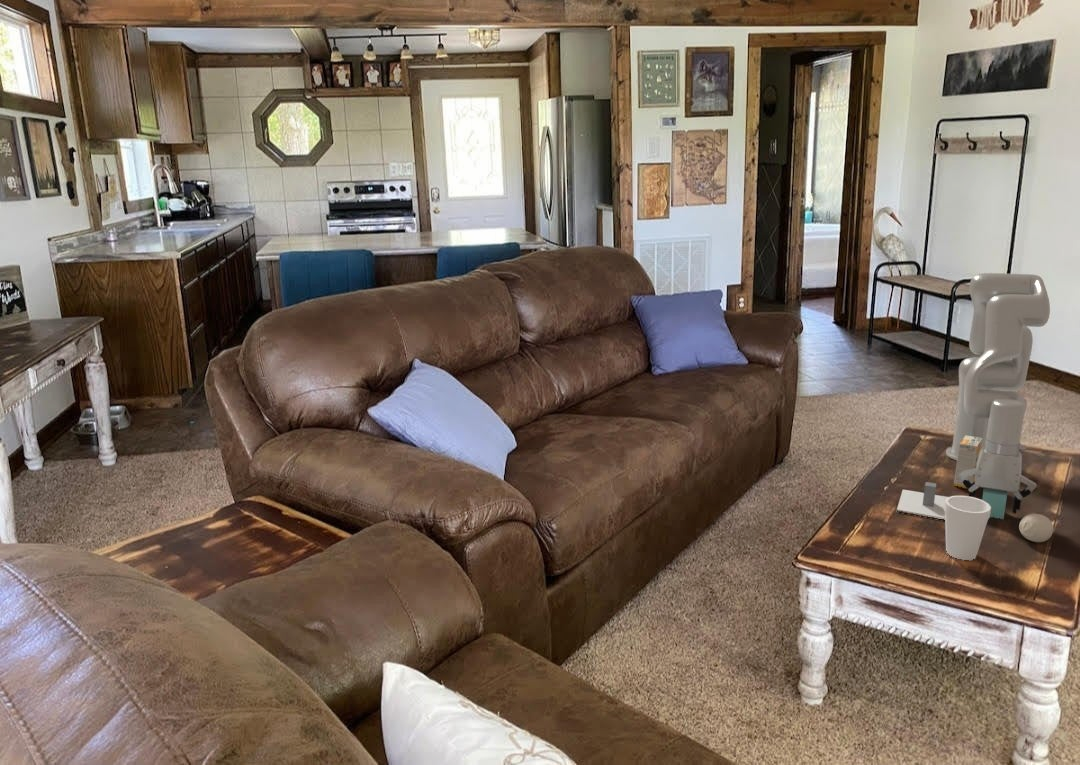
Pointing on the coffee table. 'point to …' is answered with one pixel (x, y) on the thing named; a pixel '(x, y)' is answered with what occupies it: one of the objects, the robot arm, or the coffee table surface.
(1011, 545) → the coffee table surface
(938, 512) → the white square plate
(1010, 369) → the robot arm
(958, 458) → the supplement box
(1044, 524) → the off-white rounded piece
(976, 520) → the foam cup
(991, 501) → the teal block
